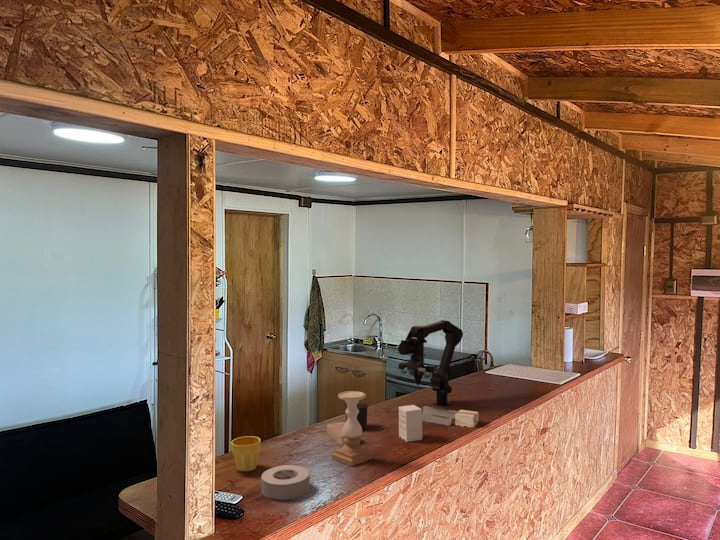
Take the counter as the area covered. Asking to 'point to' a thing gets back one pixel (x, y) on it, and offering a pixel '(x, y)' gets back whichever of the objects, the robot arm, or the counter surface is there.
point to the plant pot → (246, 452)
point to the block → (466, 418)
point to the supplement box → (410, 423)
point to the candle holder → (352, 433)
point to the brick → (337, 432)
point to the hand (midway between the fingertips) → (418, 384)
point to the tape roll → (285, 482)
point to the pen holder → (361, 415)
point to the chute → (438, 415)
